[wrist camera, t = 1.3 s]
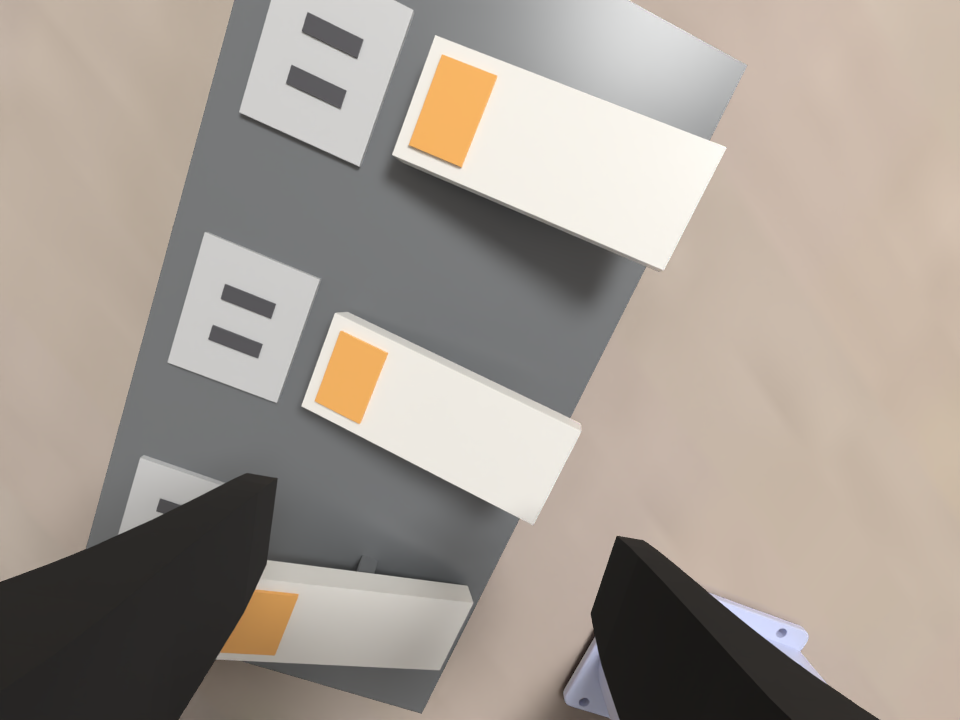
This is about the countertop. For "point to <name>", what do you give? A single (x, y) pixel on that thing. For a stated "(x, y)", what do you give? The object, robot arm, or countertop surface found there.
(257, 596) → the rocker
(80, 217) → the countertop surface
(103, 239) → the countertop surface
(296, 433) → the power strip
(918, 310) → the countertop surface
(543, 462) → the rocker middle
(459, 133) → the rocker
